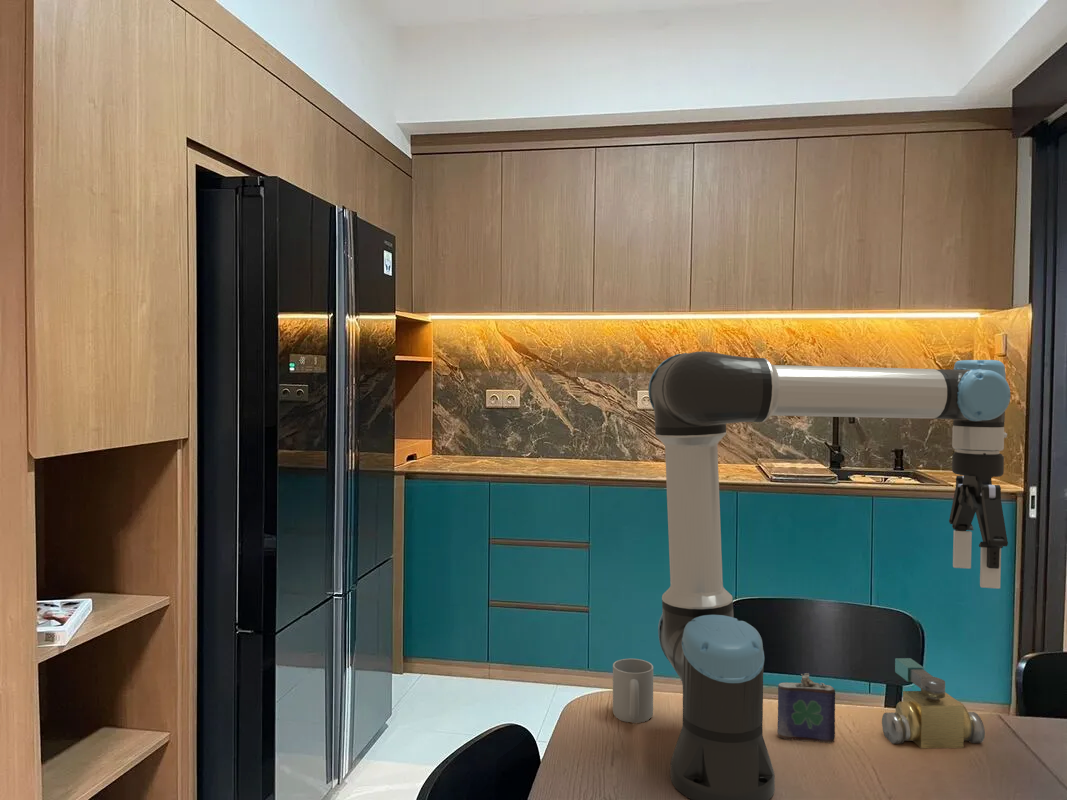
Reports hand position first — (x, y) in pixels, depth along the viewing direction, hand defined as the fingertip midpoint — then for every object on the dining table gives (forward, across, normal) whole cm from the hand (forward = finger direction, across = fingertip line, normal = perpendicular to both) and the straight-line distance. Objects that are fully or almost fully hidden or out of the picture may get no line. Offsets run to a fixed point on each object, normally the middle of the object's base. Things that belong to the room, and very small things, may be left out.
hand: (975, 577), depth 128 cm
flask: (+28, -7, +28) cm, 40 cm away
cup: (+28, -6, +57) cm, 63 cm away
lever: (+19, +1, +8) cm, 21 cm away
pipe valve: (+27, -3, +7) cm, 28 cm away
